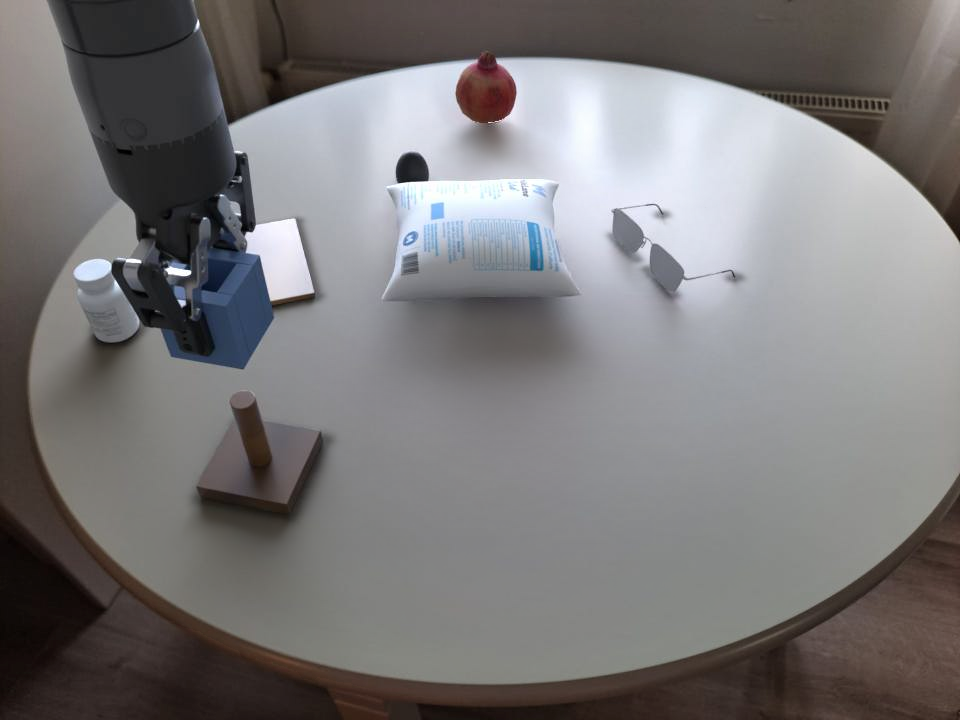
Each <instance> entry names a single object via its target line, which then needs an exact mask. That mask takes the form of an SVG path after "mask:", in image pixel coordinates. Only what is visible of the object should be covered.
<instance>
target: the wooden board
mask: <svg viewBox="0 0 960 720" xmlns="http://www.w3.org/2000/svg"><path fill="white" fill-rule="evenodd" d="M300 235H301V234H300V232H299V228H298V224H297V220H296V217H295V218H294V217H293V218H292V217H291V218H288V219H282V220H281V219H280V220H275V221H270V222H263V223H259V224H256V226H255V230H254V231H253V232H252V233H251V232H247V233H246V235H245V238H246V240H247V250H246V253H249V254H256V255H260V259H261V263H262V267H263V272H264V276H265V280H266V284H267V289H268V293H269V297H270V301H271V306H276V305H281V304H285V303H291V302H295V301H301V300H306V299H312V298H316V293H315V289H314V285H313V281H312V277H311V274H310V273H311V272H310V269H309V266H308V262H307V259H306V255H305V251H304V247H303V242H302V239H301V236H300Z"/></svg>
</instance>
